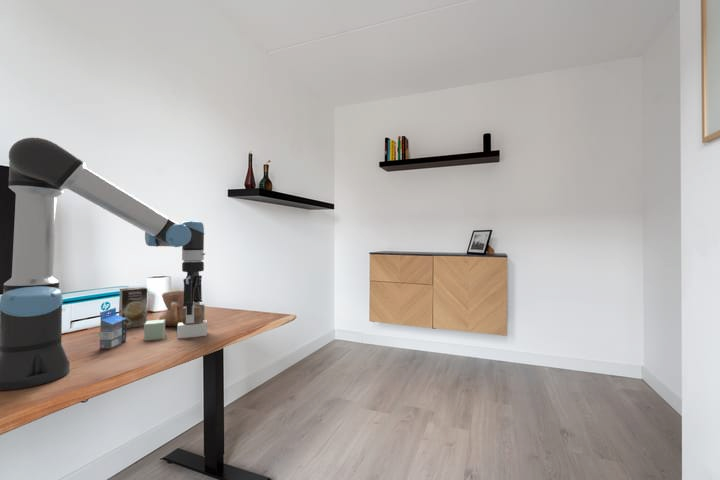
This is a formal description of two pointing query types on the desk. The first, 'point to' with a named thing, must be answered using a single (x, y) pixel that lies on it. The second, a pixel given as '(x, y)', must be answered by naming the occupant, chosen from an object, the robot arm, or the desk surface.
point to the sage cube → (154, 329)
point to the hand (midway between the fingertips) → (193, 320)
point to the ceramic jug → (173, 307)
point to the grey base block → (192, 330)
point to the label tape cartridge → (112, 329)
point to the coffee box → (133, 306)
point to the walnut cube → (195, 314)
